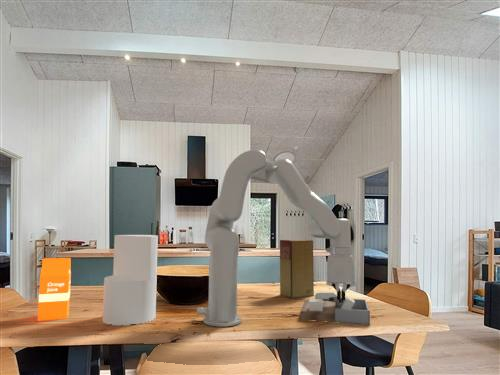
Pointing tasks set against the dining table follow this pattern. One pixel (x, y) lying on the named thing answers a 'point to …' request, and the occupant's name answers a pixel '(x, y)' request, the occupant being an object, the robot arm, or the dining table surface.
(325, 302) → the board
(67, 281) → the orange juice
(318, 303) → the white rectangular block
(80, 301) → the dining table surface
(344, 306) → the tile
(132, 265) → the white stepped block
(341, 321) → the tray
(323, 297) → the cleaver
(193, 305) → the dining table surface
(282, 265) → the food packaging
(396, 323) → the dining table surface
